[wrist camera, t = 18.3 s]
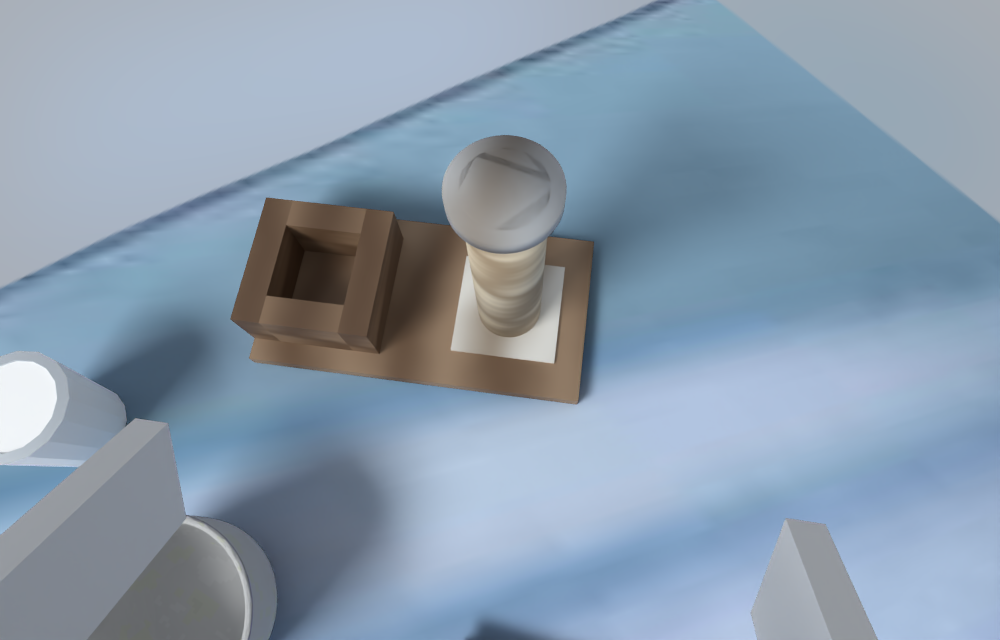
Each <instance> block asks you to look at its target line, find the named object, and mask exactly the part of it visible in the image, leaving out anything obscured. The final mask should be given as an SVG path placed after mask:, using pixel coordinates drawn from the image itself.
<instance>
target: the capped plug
mask: <svg viewBox="0 0 1000 640" xmlns="http://www.w3.org/2000/svg"><path fill="white" fill-rule="evenodd" d="M442 198H443V203H444V208H445V212H446V216H447V218H448V221H449V223H450V225H451V227H452V228H453V230H454V231H455V232H456V233H457V234H458V236H459V237H460V238H461V239H463V240H464V241H465V242H466V246H467V252H468V257H469V263H470V268H471V273H472V279H473V284H474V290H475V295H476V301H477V306H478V312H479V316H480V319H481V321H482V323H483V324H484V326H485V327H486V328H487V329H488V330H489V331H490V332H492V333H494V334H496V335H498V336H502V337H517V336H520V335H523V334H525V333H526V332H528V331H529V330H530V329H532V328H533V326H534V325H535V324H536V322H537V321H538V318H539V315H540V310H541V299H542V288H543V277H544V266H545V255H546V244H547V238H548V237H549V236H550V235H551V234H552V232H553V231H554V230H555V229H556V227H557V226H558V224H559V222H560V220H561V218H562V215H563V212H564V207H565V200H566V179H565V176H564V172H563V170H562V168H561V166H560V164H559V163H558V161H557V160H556V158H555V157H554V156H553V155H552V154H551V153H550V152H549V151H548V150H547V149H545V148H544V147H543V146H541V145H540V144H538V143H536V142H534V141H531V140H529V139H526V138H522V137H518V136H511V135H500V136H492V137H487V138H484V139H481V140H479V141H476V142H474V143H472V144H470V145H469V146H467V147H466V148H464V149H463V150H462V151H460V152H459V153H458V154H457V155H456V156H455V158H454V159H453V160H452V161H451V163H450V164H449V166H448V168H447V170H446V172H445V175H444V178H443V183H442Z"/></svg>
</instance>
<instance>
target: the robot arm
mask: <svg viewBox="0 0 1000 640" xmlns="http://www.w3.org/2000/svg"><path fill="white" fill-rule="evenodd" d="M185 519H186V513H185V508H184V503H183V498H182V493H181V487H180V482H179V477H178V472H177V467H176V461H175V456H174V451H173V446H172V441H171V435H170V430H169V425H168V423H164V422H157V421H151V420H144V419H138V418H135V419H134V420H133V421H132V422H130V423H129V424H128V425H127V426H126V427H125V428H123V429H122V430H121V431H120V432H119V433H118V434H117V435H115V436H114V437H113V438H112V439H111V440H110V441H108V442H107V443H106V444H105V445H104V446H103V447H102V448H100V449H99V450H98V451H97V452H96V453H95V454H93V455H92V456H91V457H90V458H89V459H88V460H87V461H85V462H84V463H83V464H82V465H81V466H80V467H78V468H77V469H76V470H75V471H74V472H73V473H72V474H70V475H69V476H68V477H67V478H66V479H65V480H63V481H62V482H61V483H60V484H59V485H58V486H57V487H55V488H54V489H53V490H52V491H51V492H50V493H48V494H47V495H46V496H45V497H44V498H43V499H42V500H40V501H39V502H38V503H37V504H36V505H35V506H33V507H32V508H31V509H30V510H29V511H28V512H27V513H25V514H24V515H23V516H22V517H21V518H20V519H19V520H17V521H16V522H15V523H14V524H13V525H12V526H10V527H9V528H8V529H7V530H6V531H5V532H4V533H2V534H1V535H0V640H87V639H88V638H89V636H90V635H91V634H92V633H93V631H94V630H95V629H96V628H97V627H98V625H99V624H100V623H101V622H102V621H103V619H104V618H105V617H106V616H107V614H108V613H109V612H110V611H111V610H112V608H113V607H114V606H115V605H116V603H117V602H118V601H119V600H120V599H121V597H122V596H123V595H124V594H125V592H126V591H127V590H128V589H129V588H130V586H131V585H132V584H133V583H134V582H135V580H136V579H137V578H138V577H139V575H140V574H141V573H142V572H143V571H144V569H145V568H146V567H147V566H148V564H149V563H150V562H151V561H152V560H153V558H154V557H155V556H156V555H157V553H158V552H159V551H160V550H161V549H162V547H163V546H164V545H165V544H166V542H167V541H168V540H169V539H170V538H171V536H172V535H173V534H174V533H175V532H176V530H177V529H178V528H179V527H180V525H181V524H182V523H183V522H184V521H185ZM751 616H752V620H753V624H754V628H755V632H756V636H757V639H758V640H878V639H877V637H876V635H875V632H874V630H873V628H872V626H871V624H870V621H869V619H868V617H867V615H866V613H865V610H864V608H863V606H862V604H861V602H860V599H859V597H858V595H857V593H856V591H855V588H854V586H853V584H852V582H851V580H850V577H849V575H848V573H847V571H846V569H845V566H844V564H843V562H842V560H841V558H840V555H839V553H838V551H837V549H836V547H835V544H834V542H833V540H832V538H831V536H830V533H829V531H828V529H827V527H826V525H825V524H821V523H814V522H808V521H801V520H795V519H788V518H786V519H785V521H784V524H783V527H782V530H781V532H780V535H779V538H778V540H777V543H776V546H775V548H774V551H773V554H772V556H771V559H770V562H769V565H768V567H767V570H766V573H765V575H764V578H763V581H762V583H761V586H760V589H759V591H758V594H757V597H756V599H755V602H754V605H753V608H752V610H751Z"/></svg>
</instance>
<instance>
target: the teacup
mask: <svg viewBox="0 0 1000 640" xmlns="http://www.w3.org/2000/svg"><path fill="white" fill-rule="evenodd" d="M276 610H277V588H276V582H275V577H274V573H273V570H272V567H271V565H270V562H269V560H268V558H267V556H266V555H265V553H264V551H263V550H262V548H261V547H260V546H259V545H258V543H257V542H256V541H255V540H254V539H253V538H252V537H250V536H249V535H248V534H247V533H246V532H244V531H243V530H241V529H239V528H238V527H236V526H234V525H232V524H229V523H227V522H224V521H221V520H217V519H212V518H207V517H199V516H189V515H186V519H185V521H184V522H183V523H182V524H181V525H180V527H179V528H178V529H177V530H176V532H175V533H174V534H173V535H172V536H171V538H170V539H169V540H168V541H167V542H166V544H165V545H164V546H163V547H162V549H161V550H160V551H159V552H158V553H157V555H156V556H155V557H154V558H153V560H152V561H151V562H150V563H149V564H148V566H147V567H146V568H145V569H144V571H143V572H142V573H141V574H140V575H139V577H138V578H137V579H136V580H135V582H134V583H133V584H132V585H131V586H130V588H129V589H128V590H127V591H126V592H125V594H124V595H123V596H122V597H121V599H120V600H119V601H118V602H117V603H116V605H115V606H114V607H113V608H112V610H111V611H110V612H109V613H108V614H107V616H106V617H105V618H104V619H103V621H102V622H101V623H100V624H99V625H98V627H97V628H96V629H95V630H94V631H93V633H92V634H91V635H90V636H89V638H88V639H87V640H269V638H270V635H271V632H272V629H273V626H274V621H275V617H276Z"/></svg>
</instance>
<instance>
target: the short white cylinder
mask: <svg viewBox="0 0 1000 640" xmlns="http://www.w3.org/2000/svg"><path fill="white" fill-rule="evenodd" d="M126 422H127V417H126V410H125V405H124V404H123V402H122V401H121V399H120V398H119V397H118V395H117V394H116V393H114V392H112V391H110V390H108V389H107V388H105V387H103V386H101V385H99V384H97V383H96V382H94V381H92V380H90V379H88V378H86V377H84V376H83V375H81V374H79V373H77V372H75V371H73V370H72V369H70V368H68V367H66V366H64V365H62V364H60V363H59V362H57V361H55V360H53V359H51V358H49V357H47V356H45V355H43V354H41V353H39V352H27V351H16V352H13V353H10V354H7V355H3V356H0V465H22V466H61V467H80V466H81V465H82V464H83V463H84V462H85V461H87V460H88V459H89V458H90V457H91V456H92V455H93V454H95V453H96V452H97V451H98V450H99V449H100V448H102V447H103V446H104V445H105V444H106V443H107V442H108V441H110V440H111V439H112V438H113V437H114V436H115V435H117V434H118V433H119V432H120V431H121V430H122V429H123V428H125V426H126Z"/></svg>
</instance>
